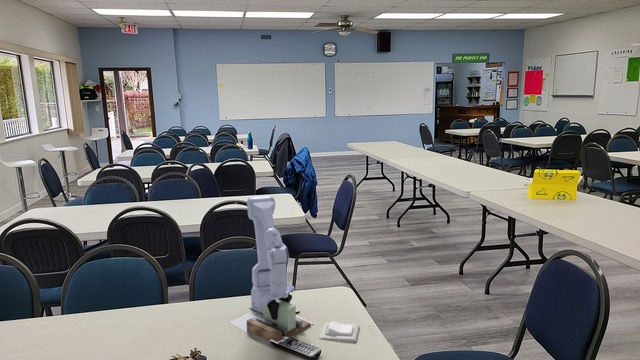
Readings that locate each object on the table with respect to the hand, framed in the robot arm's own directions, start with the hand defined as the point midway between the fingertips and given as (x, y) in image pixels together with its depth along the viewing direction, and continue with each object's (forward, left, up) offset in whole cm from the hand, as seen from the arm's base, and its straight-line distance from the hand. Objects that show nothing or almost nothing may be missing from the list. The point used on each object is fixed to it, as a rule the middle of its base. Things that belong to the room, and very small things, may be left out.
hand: (278, 316), depth 159 cm
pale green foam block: (0, 0, -3) cm, 3 cm away
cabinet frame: (0, 0, -4) cm, 4 cm away
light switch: (+18, +11, -5) cm, 22 cm away
